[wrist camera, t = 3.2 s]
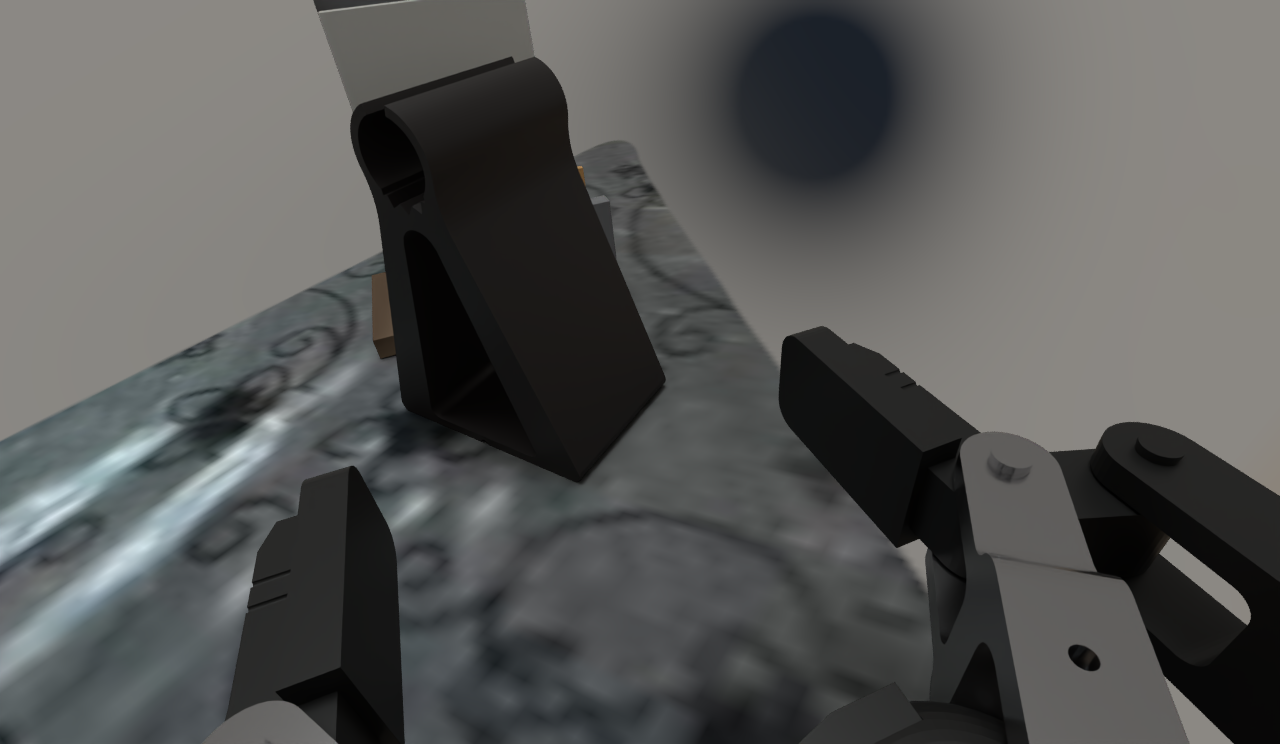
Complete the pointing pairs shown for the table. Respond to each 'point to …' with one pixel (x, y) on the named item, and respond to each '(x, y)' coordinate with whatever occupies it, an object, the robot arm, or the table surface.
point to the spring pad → (428, 48)
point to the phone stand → (502, 268)
